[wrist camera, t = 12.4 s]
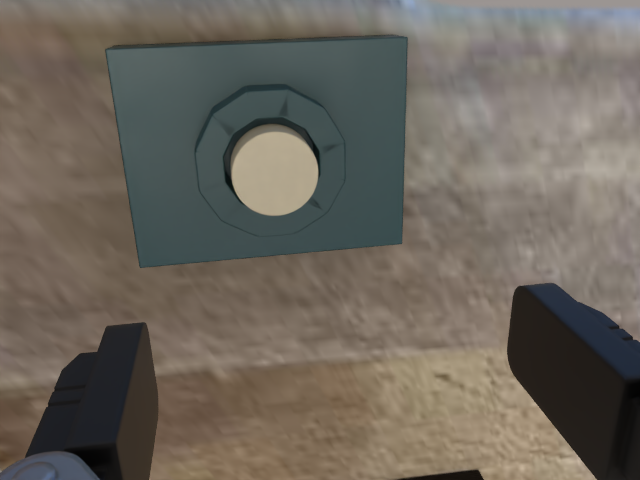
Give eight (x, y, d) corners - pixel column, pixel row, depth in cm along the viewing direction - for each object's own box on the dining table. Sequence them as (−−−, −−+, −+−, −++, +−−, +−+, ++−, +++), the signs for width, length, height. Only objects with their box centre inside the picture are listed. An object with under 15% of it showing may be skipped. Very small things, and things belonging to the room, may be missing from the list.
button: (233, 206, 26) (235, 219, 24) (226, 125, 25) (227, 134, 23) (313, 200, 27) (320, 212, 25) (310, 120, 25) (317, 128, 24)
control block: (144, 250, 30) (135, 284, 26) (113, 45, 26) (96, 52, 22) (390, 229, 32) (413, 258, 28) (394, 34, 28) (420, 39, 24)
